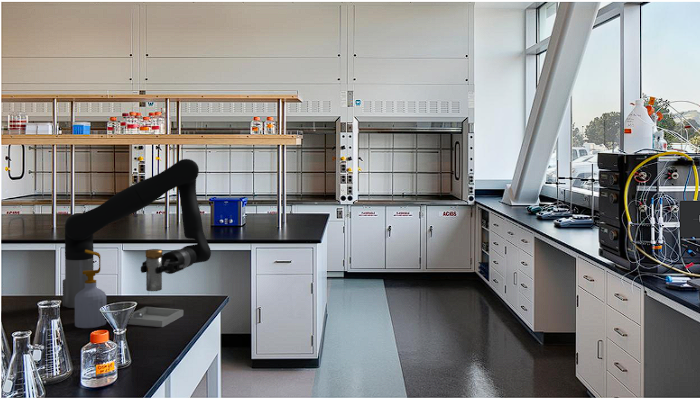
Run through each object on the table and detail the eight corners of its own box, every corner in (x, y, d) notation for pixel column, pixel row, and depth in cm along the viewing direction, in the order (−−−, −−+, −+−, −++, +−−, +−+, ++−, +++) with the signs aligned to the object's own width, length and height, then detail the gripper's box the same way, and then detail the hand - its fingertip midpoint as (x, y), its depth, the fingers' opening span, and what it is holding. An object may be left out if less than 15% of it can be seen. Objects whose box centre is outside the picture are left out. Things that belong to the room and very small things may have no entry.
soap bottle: (75, 324, 184) (75, 248, 182) (106, 321, 188) (106, 247, 186) (74, 332, 176) (73, 252, 174) (106, 329, 179) (106, 251, 178)
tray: (121, 326, 183) (121, 317, 183) (145, 315, 197) (145, 306, 197) (162, 330, 180) (162, 320, 180) (183, 318, 194) (183, 309, 194)
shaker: (142, 290, 186) (142, 251, 185) (151, 287, 191) (150, 248, 190) (157, 291, 185) (157, 252, 184) (165, 288, 190) (165, 249, 189)
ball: (131, 322, 185) (131, 313, 184) (136, 319, 187) (136, 310, 187) (139, 323, 184) (139, 313, 184) (144, 320, 187) (144, 311, 187)
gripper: (156, 249, 203) (129, 257, 186) (194, 251, 200) (170, 259, 183) (156, 270, 203) (129, 280, 186) (194, 272, 200) (170, 283, 184)
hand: (149, 270), depth 185 cm, fingers closed on shaker, 4 cm apart
